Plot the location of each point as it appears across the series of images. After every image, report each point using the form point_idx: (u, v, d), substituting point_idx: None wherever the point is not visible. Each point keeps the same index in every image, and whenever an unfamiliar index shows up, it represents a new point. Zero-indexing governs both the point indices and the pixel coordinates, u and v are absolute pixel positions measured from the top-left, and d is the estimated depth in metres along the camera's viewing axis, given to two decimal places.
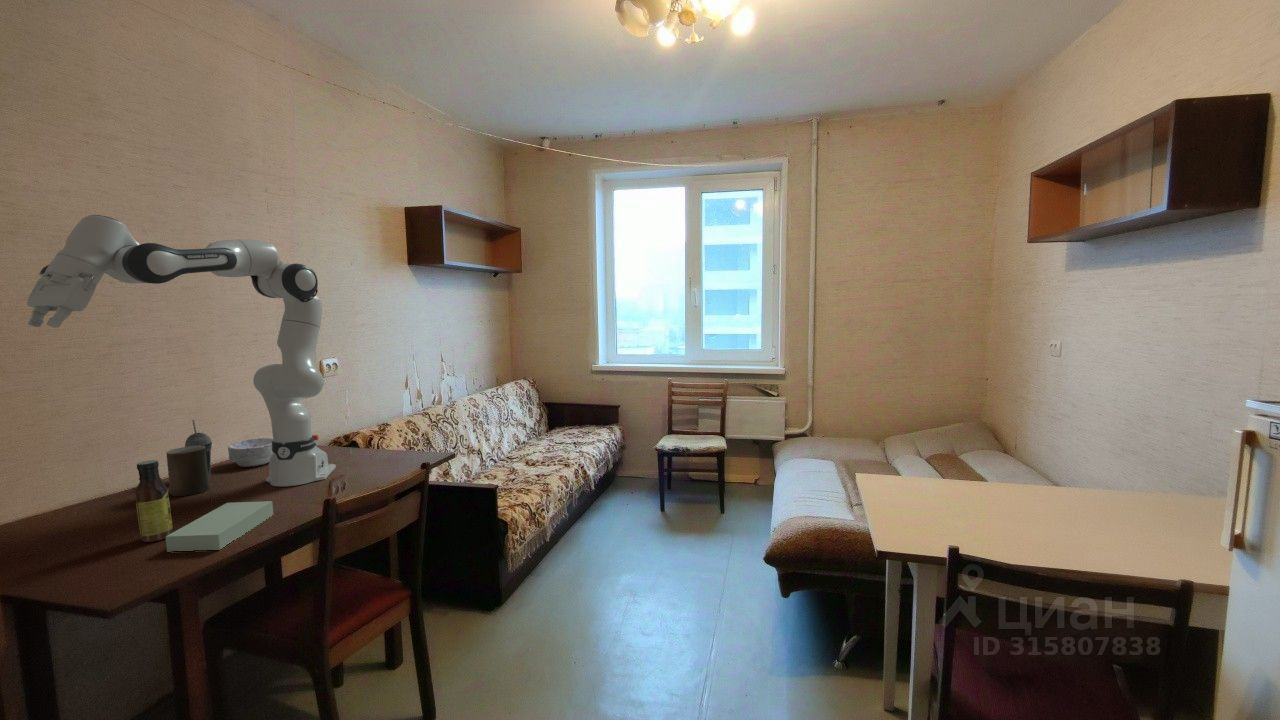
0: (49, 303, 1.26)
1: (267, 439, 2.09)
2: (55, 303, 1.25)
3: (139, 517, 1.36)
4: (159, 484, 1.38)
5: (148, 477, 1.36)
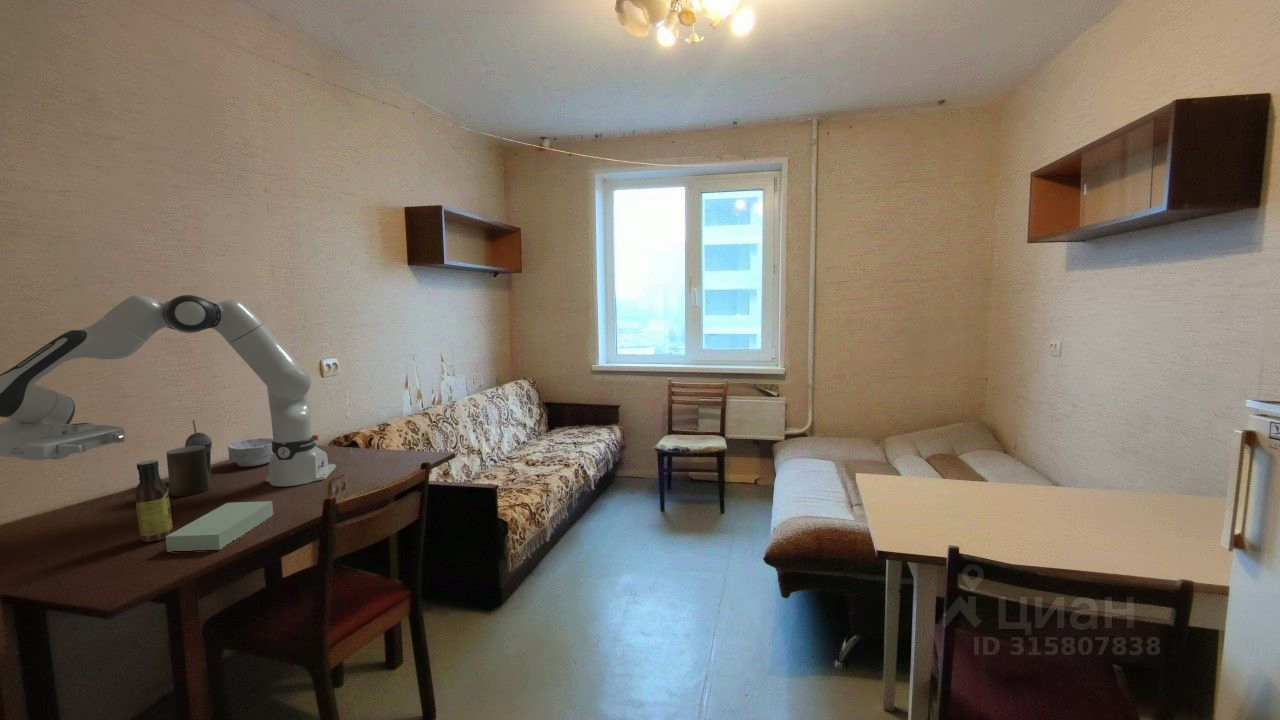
0: None
1: (267, 439, 2.09)
2: (63, 455, 1.33)
3: (139, 517, 1.36)
4: (159, 484, 1.38)
5: (148, 477, 1.36)
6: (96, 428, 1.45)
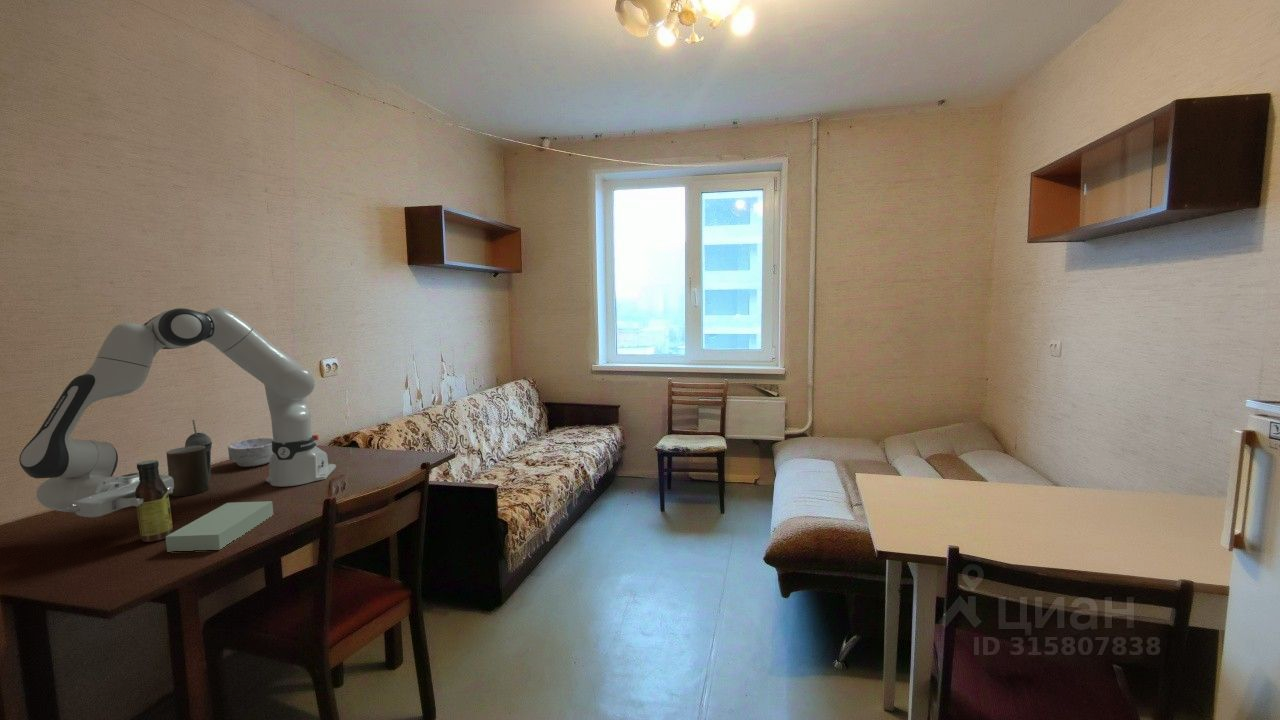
0: None
1: (267, 439, 2.09)
2: None
3: (139, 517, 1.36)
4: (159, 484, 1.38)
5: (148, 477, 1.36)
6: None
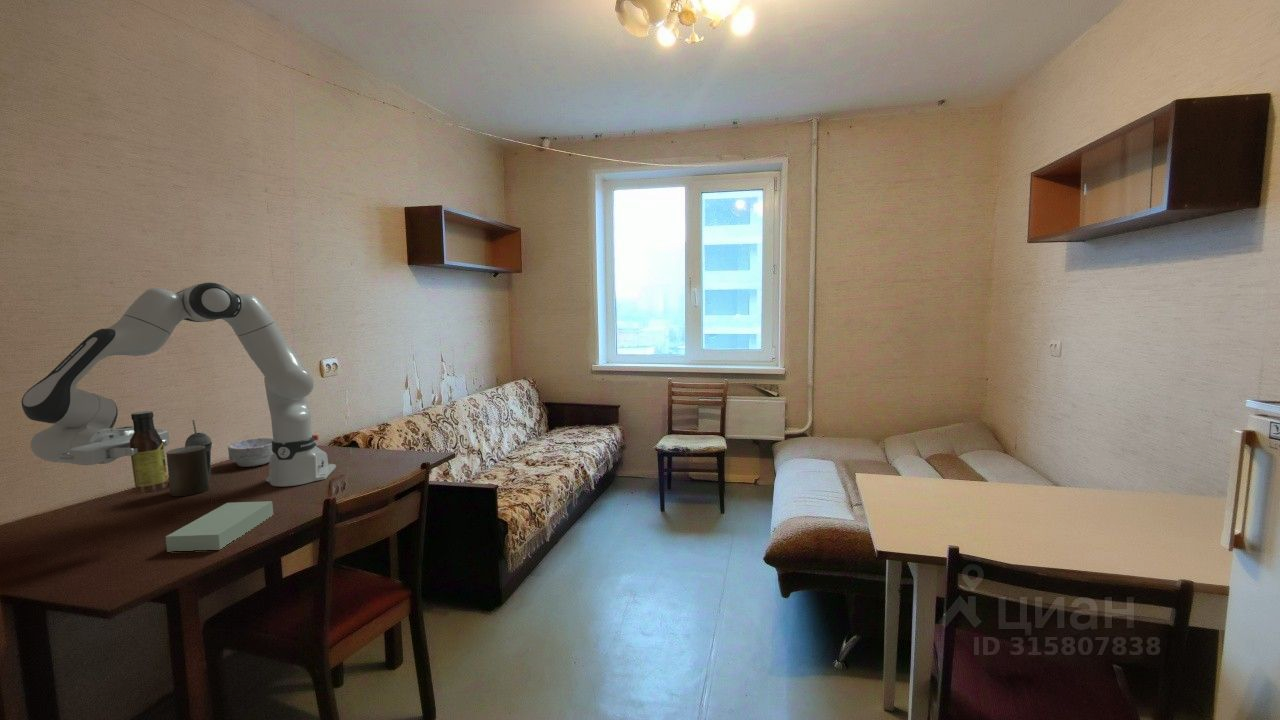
0: None
1: (267, 439, 2.09)
2: (111, 459, 1.32)
3: (134, 467, 1.34)
4: (154, 435, 1.36)
5: (143, 427, 1.35)
6: None
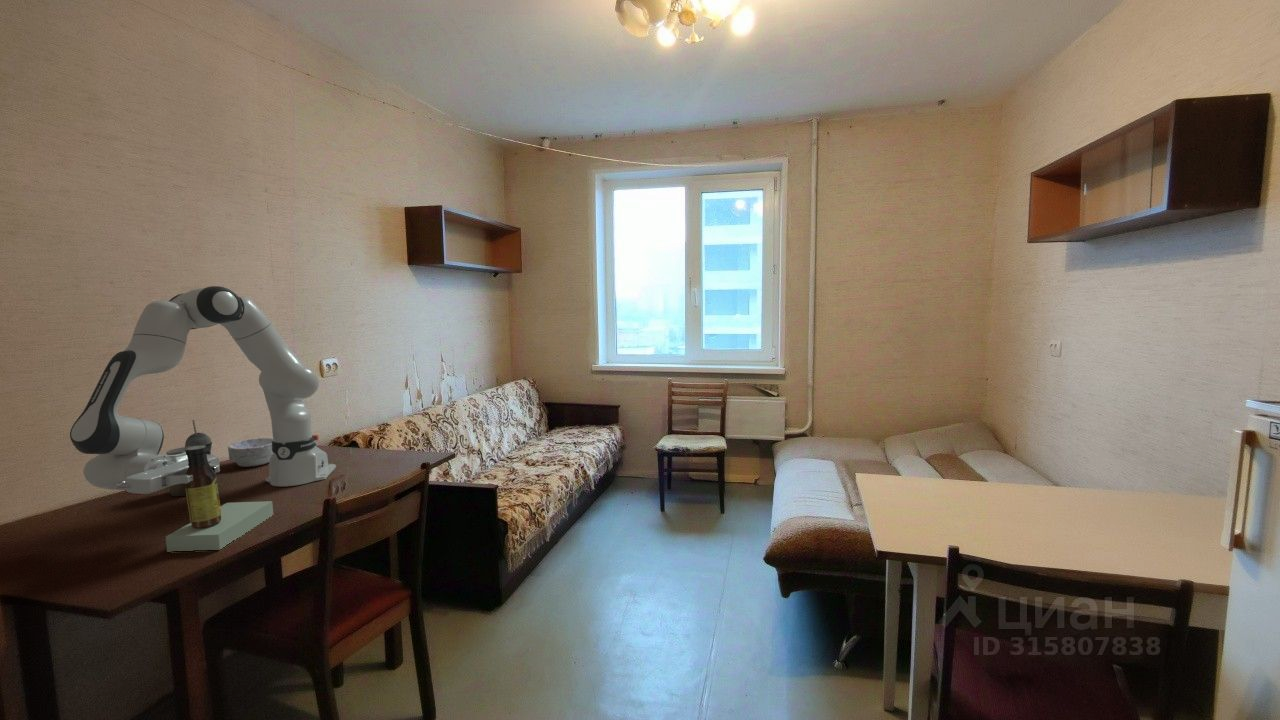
0: None
1: (267, 439, 2.09)
2: None
3: (189, 503, 1.34)
4: (208, 470, 1.36)
5: (197, 463, 1.34)
6: None
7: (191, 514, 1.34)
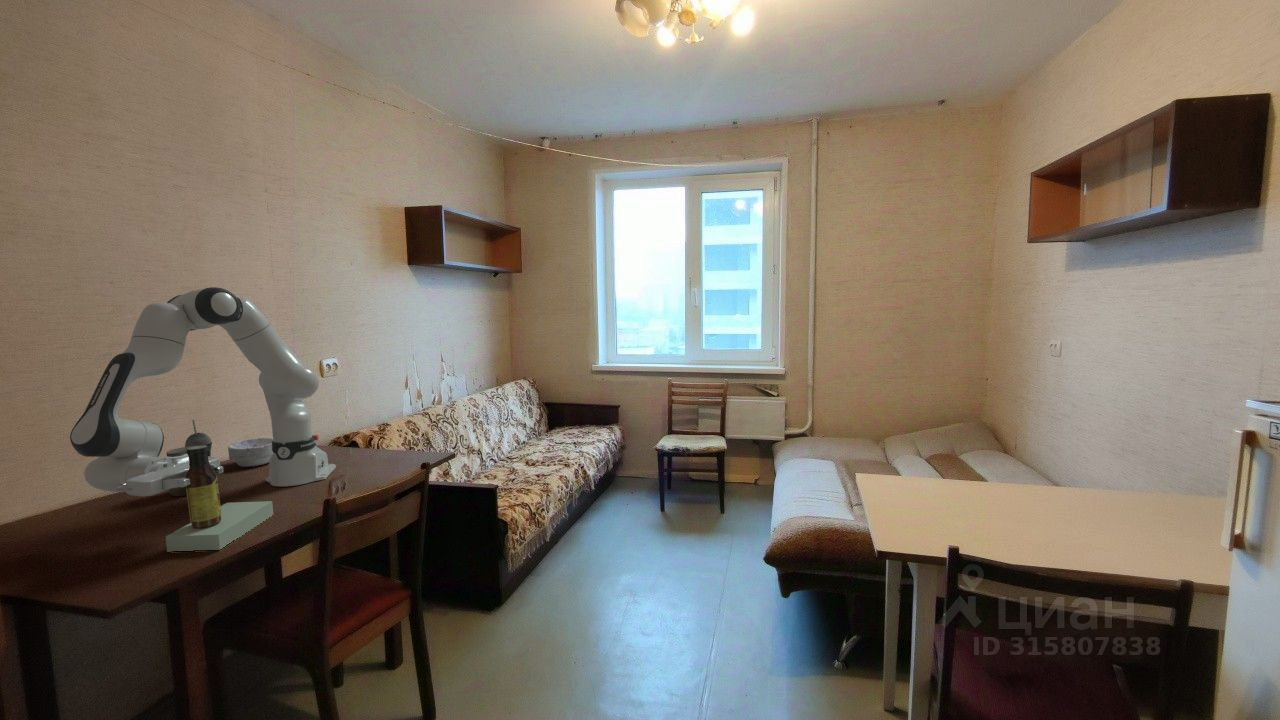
0: None
1: (267, 439, 2.09)
2: (167, 489, 1.32)
3: (189, 503, 1.34)
4: (209, 470, 1.36)
5: (198, 462, 1.35)
6: None
7: (191, 514, 1.34)
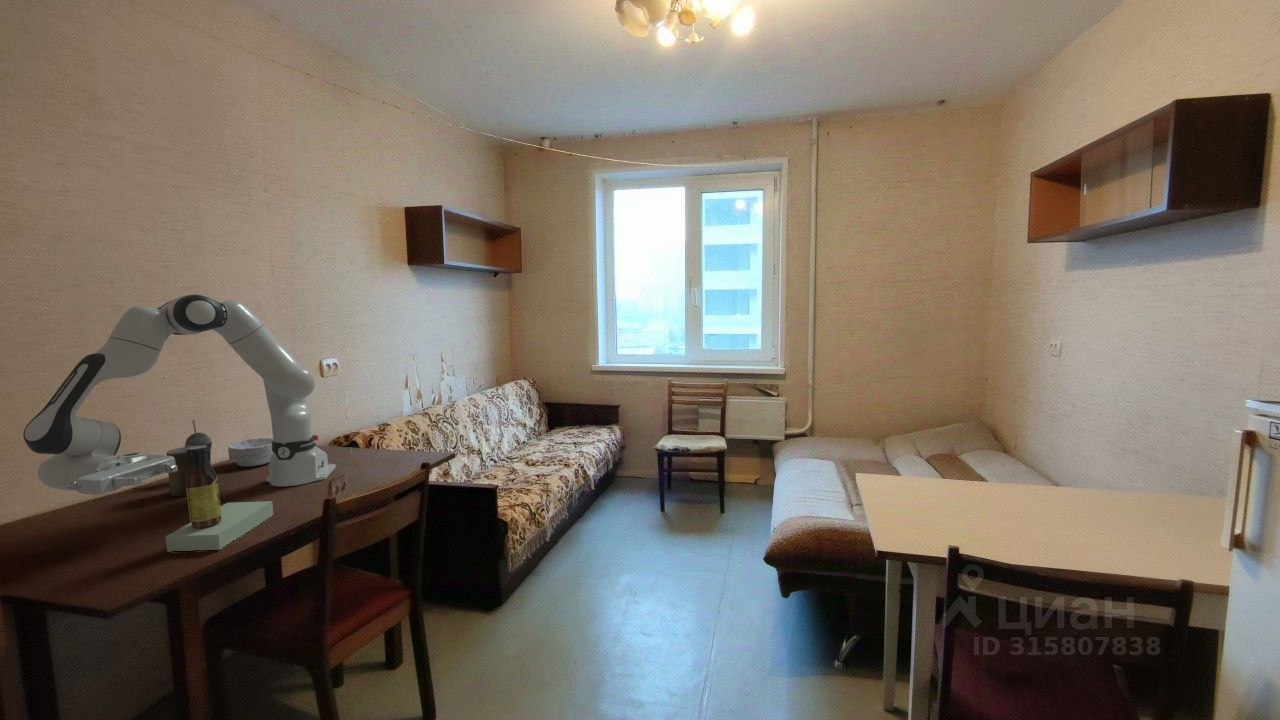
0: None
1: (267, 439, 2.09)
2: (118, 487, 1.33)
3: (189, 503, 1.34)
4: (209, 470, 1.36)
5: (198, 462, 1.35)
6: (147, 458, 1.45)
7: (191, 514, 1.34)
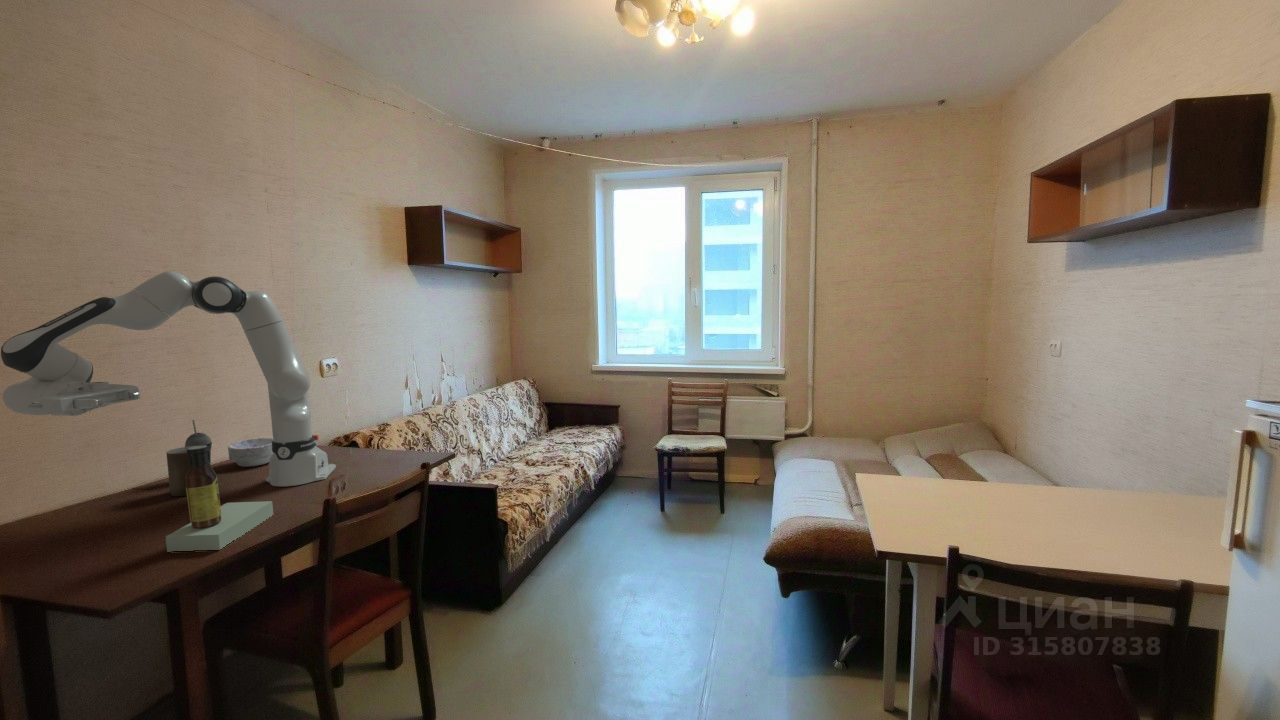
0: (92, 407, 1.39)
1: (267, 439, 2.09)
2: (80, 409, 1.36)
3: (189, 503, 1.34)
4: (209, 470, 1.36)
5: (198, 462, 1.35)
6: (111, 387, 1.48)
7: (191, 514, 1.34)
